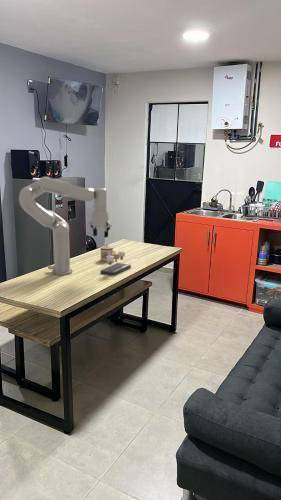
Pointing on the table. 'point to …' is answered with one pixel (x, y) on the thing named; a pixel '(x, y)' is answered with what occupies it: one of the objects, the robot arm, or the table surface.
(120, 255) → the knob far
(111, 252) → the teacup with lid
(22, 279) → the table surface
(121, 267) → the mount plate
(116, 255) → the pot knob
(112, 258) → the knob near
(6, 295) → the table surface
